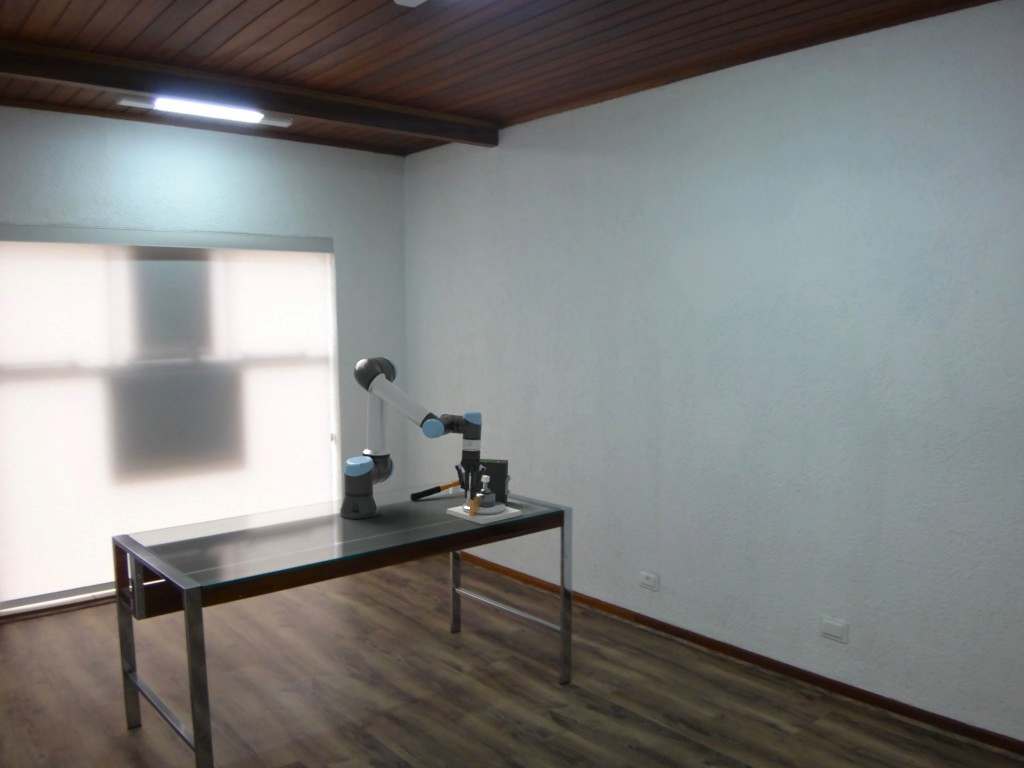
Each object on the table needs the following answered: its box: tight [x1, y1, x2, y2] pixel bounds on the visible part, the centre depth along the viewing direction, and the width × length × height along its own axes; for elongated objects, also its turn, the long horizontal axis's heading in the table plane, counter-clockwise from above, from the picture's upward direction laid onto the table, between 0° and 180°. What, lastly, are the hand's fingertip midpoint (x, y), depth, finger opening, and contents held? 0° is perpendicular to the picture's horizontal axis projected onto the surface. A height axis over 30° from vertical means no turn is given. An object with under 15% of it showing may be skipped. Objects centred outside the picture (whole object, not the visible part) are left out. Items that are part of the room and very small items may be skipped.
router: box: [469, 458, 512, 505], centre depth 360 cm, size 8×18×20 cm, turn 82°
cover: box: [476, 488, 495, 508], centre depth 339 cm, size 8×8×7 cm
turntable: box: [461, 496, 506, 516], centre depth 337 cm, size 18×22×7 cm
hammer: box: [409, 470, 465, 502], centre depth 369 cm, size 11×4×30 cm
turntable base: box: [446, 475, 522, 525], centre depth 339 cm, size 22×22×14 cm
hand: (468, 506), depth 331 cm, fingers closed
